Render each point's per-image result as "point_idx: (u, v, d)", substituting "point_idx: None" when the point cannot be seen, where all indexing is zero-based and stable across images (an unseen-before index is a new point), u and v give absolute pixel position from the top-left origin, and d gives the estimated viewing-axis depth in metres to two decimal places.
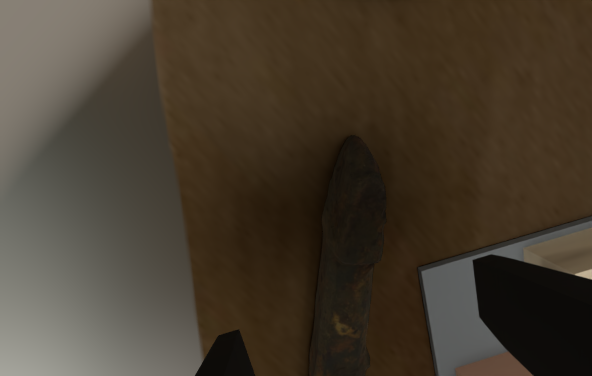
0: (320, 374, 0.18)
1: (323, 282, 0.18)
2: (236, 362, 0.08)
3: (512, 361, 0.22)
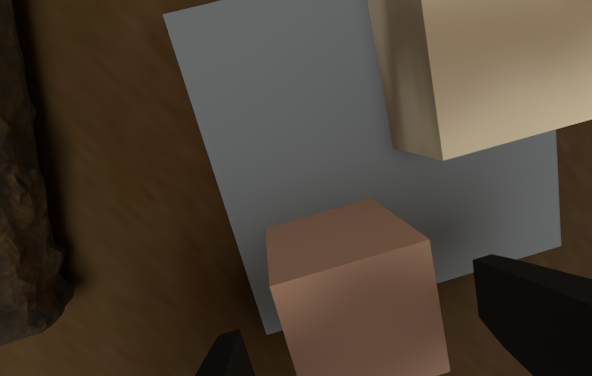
0: None
1: None
2: (236, 362, 0.08)
3: (359, 208, 0.12)
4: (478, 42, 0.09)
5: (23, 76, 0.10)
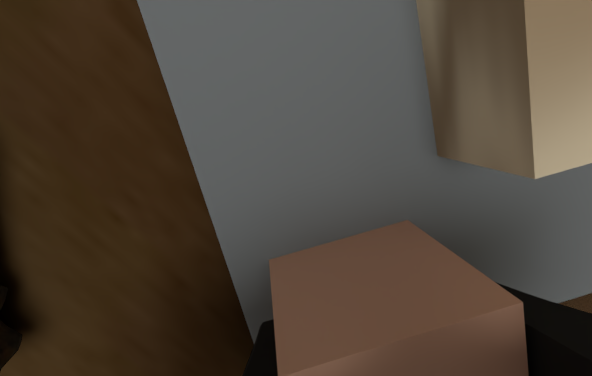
0: None
1: None
2: None
3: (393, 236, 0.09)
4: None
5: None
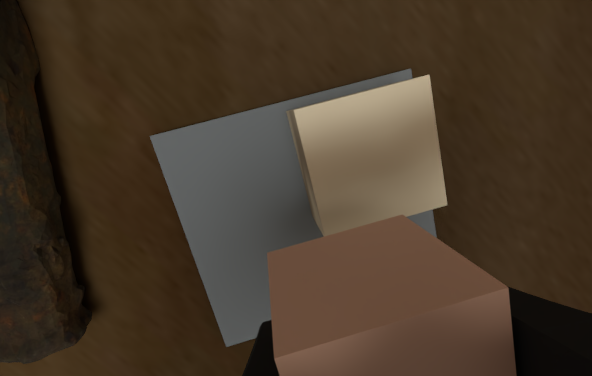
0: None
1: None
2: None
3: (388, 229, 0.09)
4: (342, 170, 0.14)
5: (52, 178, 0.15)
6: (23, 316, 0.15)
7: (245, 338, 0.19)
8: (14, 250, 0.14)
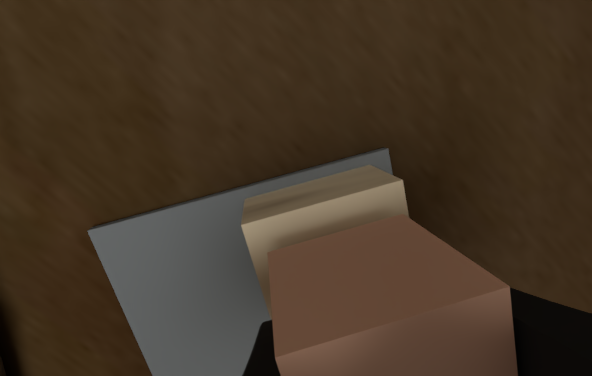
0: None
1: None
2: None
3: (389, 228, 0.09)
4: None
5: None
6: None
7: None
8: None
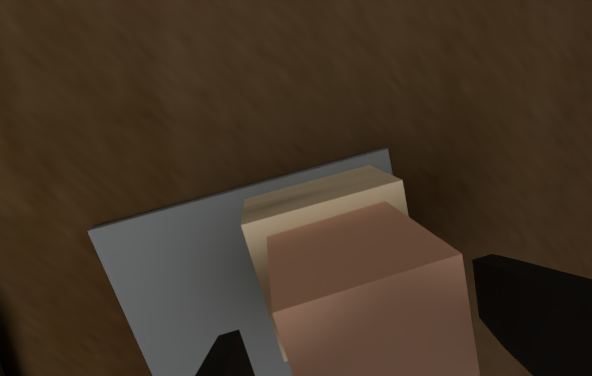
0: None
1: None
2: (236, 362, 0.08)
3: (372, 213, 0.11)
4: None
5: None
6: None
7: None
8: None
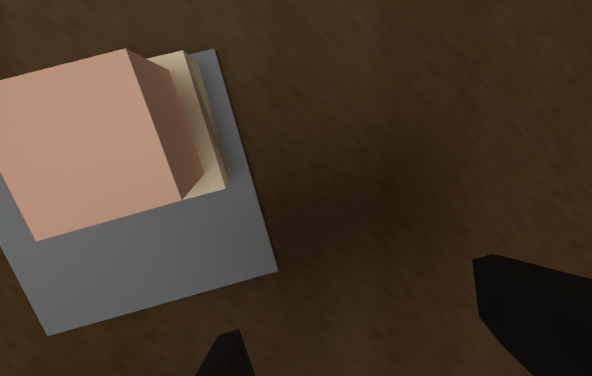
0: None
1: None
2: (236, 362, 0.08)
3: None
4: None
5: None
6: None
7: (67, 327, 0.19)
8: None
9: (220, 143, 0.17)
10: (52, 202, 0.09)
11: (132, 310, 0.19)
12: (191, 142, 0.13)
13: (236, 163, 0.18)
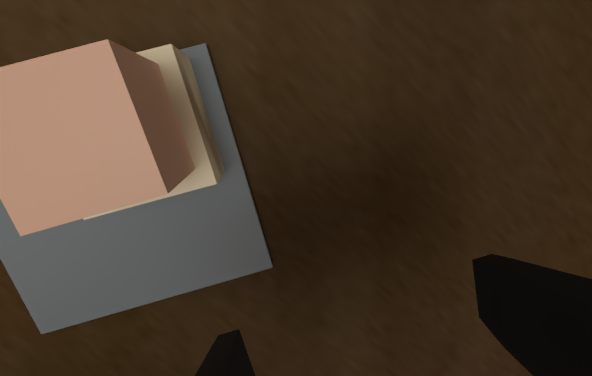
0: None
1: None
2: (236, 362, 0.08)
3: None
4: None
5: None
6: None
7: (61, 325, 0.19)
8: None
9: (212, 139, 0.17)
10: (37, 196, 0.09)
11: (126, 308, 0.19)
12: (181, 137, 0.13)
13: (229, 159, 0.18)
